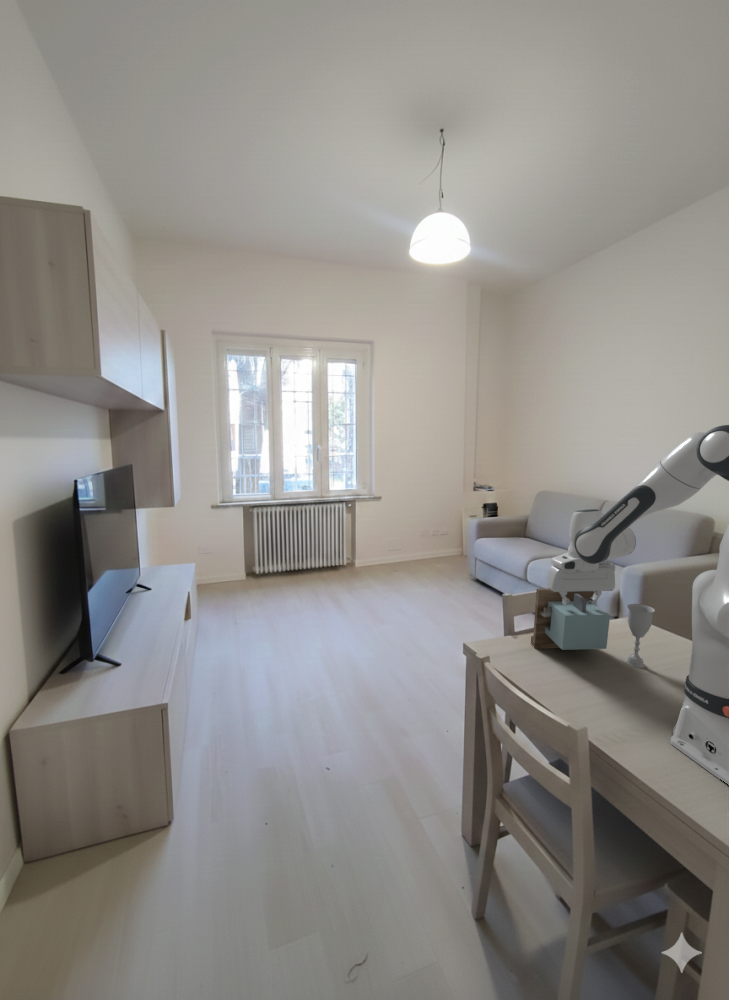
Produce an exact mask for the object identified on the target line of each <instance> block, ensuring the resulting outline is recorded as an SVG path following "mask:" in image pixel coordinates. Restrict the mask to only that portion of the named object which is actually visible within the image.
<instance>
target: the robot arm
mask: <svg viewBox="0 0 729 1000" xmlns="http://www.w3.org/2000/svg"><path fill="white" fill-rule="evenodd" d="M715 476H719V477H721V478H723V479H724V480H726V481H728V482H729V424H723V425H719V426H716V427H713V428H710V429H709V430H708V431H706V432H694V433H693V434H691V435H689V436H688V437H686V438H685V439H684V440H682V441H681V442H680V443H678V444H677V445H675V446H674V447H673V448H672V449H671V450H670V451H669V452H667V453H666V454H665V456H664V457H663V458H661V460H660V461H659V462H658V463H657V464H655V466H654V467H653V468H652V469H651V470H650V471H649V472H648V474H646V476H645V477H643V479H641V481H640V482H639V483H637V484H636V485H635V486H634V487H633V488H632V489H631V490H630V491H629V492H628V493H627V494H625V495H624V496H623V497H622V498H621V499H620V500H618V501H617V502H616V503H615V505H613V506H612V507H611V508H610V509H609V510H608V511H607V512H606V513H603V512H602V511H601V510H600V509H597V508H592V509H591V508H590V509H589V508H588V509H579V510H576V511H575V512H573V514H572V515H571V518H570V522H569V531H568V532H569V533H568V539H569V545H568V547H567V552H565V553H563V554H562V553H561V554H559V555H556V556H553V557H552V558H551V559H550V563H551V564H552V565H551V566H550V567H549V570H548V571H547V572H548V573H547V579H546V586H547V589H550V590H552V591H554V592H559V593H560V595H561V597H562V603H563V604H564V605H569V604H570V603H569V602H570V600H569V599H568V598H566V596H565V595H567V592H571V591H593V592H595V593H594V595H593V596H592V597H590V598H589V600H590V601H589V603H590V604H592V605H596V604H597V605H598V600H599V598H600V597H601V595H602V594H603V593H602V592H612V591H614V589H615V588H616V573H615V571H616V565H615V563H614V562H612V561H611V560H615V559H618V558H619V559H620V558H623V557H625V556H628V555H630V554H632V553H633V551H635V548H636V545H637V539H636V536H635V534H634V531H633V530H632V529H631V528H630V527H632V525H633V524H635V523H636V522H637V521H638V520H640V519H642V518H644V517H646V516H648V515H650V514H653V513H656V512H659V511H662V510H665V509H670V508H674V507H676V506H680V505H682V504H683V503H684V502H686V501H687V500H689V499H690V498H692V497H693V496H695V495H696V494H697V493H698V492H700V490H701V489H703V488H704V486H706V485H707V484H708V483H709V482H710V481H711V480H712V479H713V478H714V477H715ZM718 552H719V553H718V554H719V555H718V561H717V565H716V569H709V570H706V571H703V572H702V573H700V574H698V575H697V576H696V577H695V578H694V581H693V583H692V589H691V590H692V591H691V592H692V598H691V599H692V600H691V601H692V602H691V637H692V639H691V640H692V642H691V644H692V645H691V654H690V663H689V671H688V675H687V676H686V678H685V681H684V691H683V692H684V694H685V697H684V699H683V703H682V706H681V708H680V711H679V715H678V717H677V722H676V723H675V725H674V727H673V729H672V732H673V735H672V736H671V738H670V740H669V742H670V744H671V745H672V746H673V747H675V748H676V749H677V750H679V751H680V752H681V753H682V754H684V755H686V756H687V757H688V758H690V759H691V760H693V761H694V762H695V763H696V764H698V765H699V766H701V768H703V769H705V770H706V771H707V772H709V773H711V775H713V776H714V777H716V778H717V779H718V780H720V779H721V780H722V782H723V781H724V782H726V783H727V784H729V523H728V524H727V527H726V529H725V531H724V533H723V536H722V539H721V541H720V543H719V551H718ZM721 780H720V781H721ZM724 782H723V783H724ZM727 784H726V785H727Z"/></svg>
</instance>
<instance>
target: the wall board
mask: <svg viewBox="0 0 729 1000" xmlns="http://www.w3.org/2000/svg"><path fill="white" fill-rule="evenodd" d="M594 593H595V592H593V591H571V592H567V595H565V596H566V598H568V599H569V600H570V601H574V594H579V595H581V596H582V597H584V598H585V599H586V600H587V601H590V600H589V598H590V597H592V596H593V595H594ZM535 594H536V595H535V609H534V620H533V621H534V623H533V635H531V637H530V645H531V644H532V645H533V646H534V647H533V646H532V645H531V646H532V647H533V648H534V649H561V648H560V647H559V646H558V645H557V644H556V643H555V642H554V641H553V640H552V639H551V638H550V637H549V636H548V635H547V634H546V633H545V627H551V615H552V607H550V608H548V601H562V597H561V595H560V593H559V592H554V591H552V590H550V589H549V588H536V593H535ZM596 606H598V603H597V604H596Z"/></svg>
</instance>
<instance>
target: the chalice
mask: <svg viewBox="0 0 729 1000" xmlns="http://www.w3.org/2000/svg"><path fill="white" fill-rule="evenodd" d="M626 606H627V609H628V615H627V624H628V626H629V630H630V632H631V634H632V636H633V637H635V640H634V641H633V642H634V647H633V648H632V649H633V650H634V651H633V654H630V655H629V656H628V657H627V659H626V660H625V663H626V664H627V665H629V666H631V667H634V668H639V669H640V668H641V669H643V668H645V667H646V666H645V663H644V660H643V658H642V656H640V655H639V651H640V650H641V648H640V645H641V642H640V639H641V638H644V637H645V635H647V633H648V632H649V631H650V629H651V626H652V621H653V614H654V612H656V611H655V608H653V607H652V606H649V605H645V604H642V603H641V604H638V603H630V604H629V603H628V604H627V605H626Z"/></svg>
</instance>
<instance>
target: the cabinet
mask: <svg viewBox="0 0 729 1000" xmlns="http://www.w3.org/2000/svg"><path fill="white" fill-rule="evenodd" d="M569 603H570V604H569V605H564V604H563V603H562V601H548V608H550V607H552V615H551V627H545V633H546V634H547V635H548V636H549V637H550V638H551V639H552V640H553V641H554V642H555V643H556V644H557V645H558V646H559V647H560V648H559V649H561V650H563V651H565V650H568V651H569V650H573V651H574V650H607V646H608V636H609V628H610V627H609V626H610V620H611V614H610V613H608V612H606V610H604V609H602V608H601V607H599V606H598V605H597V606H596V605H592V604H590V603H589V601H587V600H586V599H585V598H584V597H582V596H581V595H579V594H574V601H570V602H569Z"/></svg>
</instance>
